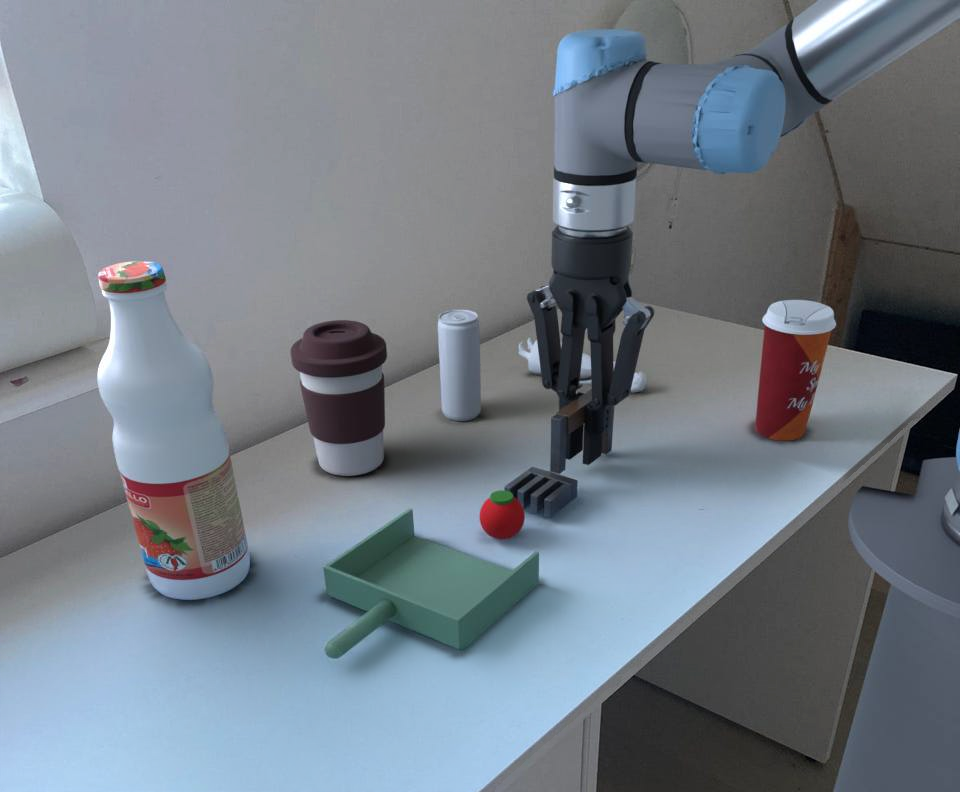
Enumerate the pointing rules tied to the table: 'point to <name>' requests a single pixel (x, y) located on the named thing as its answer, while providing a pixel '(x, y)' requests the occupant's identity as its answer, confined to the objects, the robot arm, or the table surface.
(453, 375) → the beverage can
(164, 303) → the fruit juice
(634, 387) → the woman figurine
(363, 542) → the green dustpan
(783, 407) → the paper cup
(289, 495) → the table surface
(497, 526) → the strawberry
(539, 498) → the fork
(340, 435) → the coffee cup
